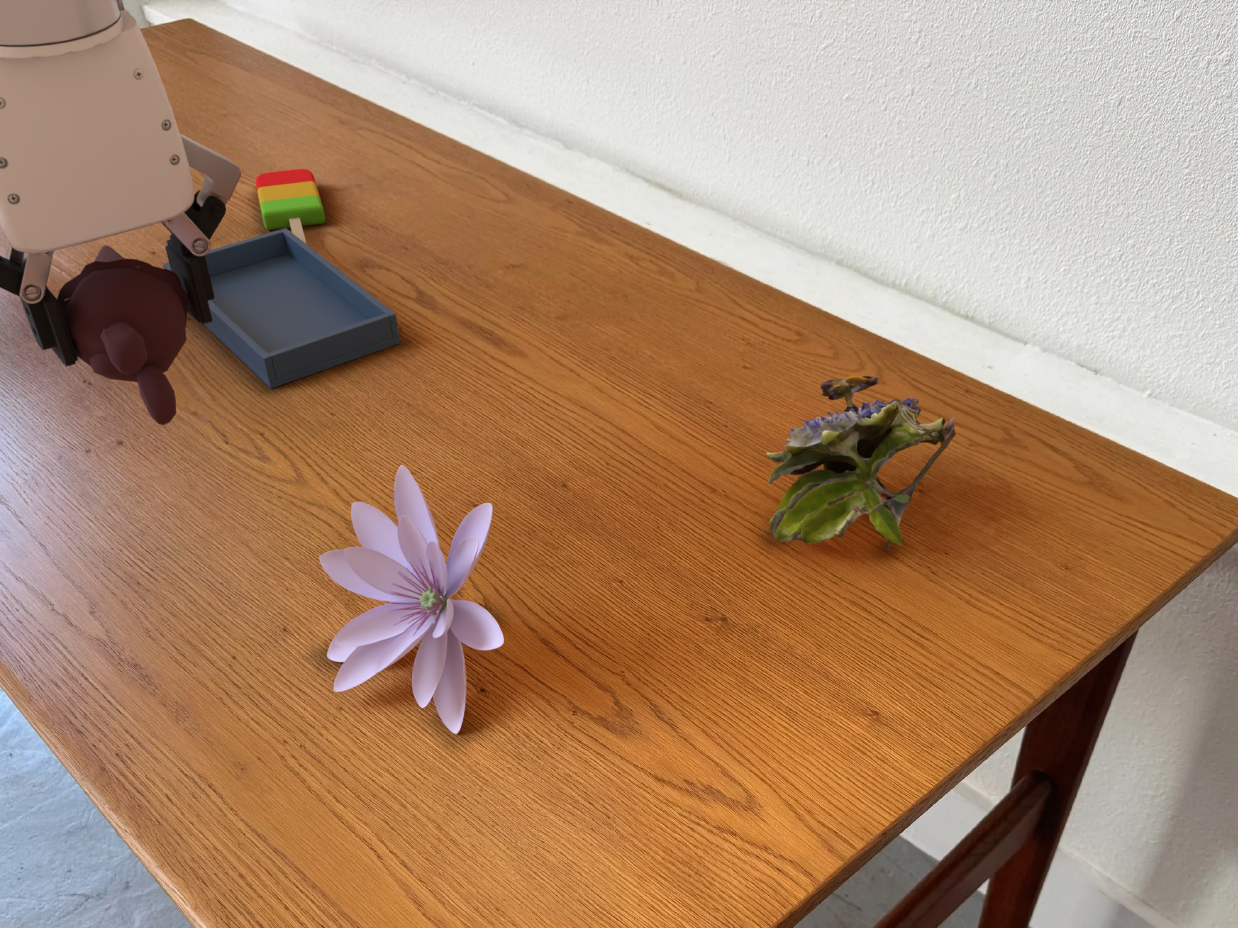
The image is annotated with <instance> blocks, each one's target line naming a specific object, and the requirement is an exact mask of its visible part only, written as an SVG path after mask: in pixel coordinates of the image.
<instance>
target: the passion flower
mask: <svg viewBox="0 0 1238 928" xmlns="http://www.w3.org/2000/svg"><path fill="white" fill-rule="evenodd" d="M879 382H880V376H878V375H873V376H871V375H862V376H861V375H850V376H848V377H843V378H840V379H829V380H825V381H823V382H822V383H821V384H820V389H821V391H820V395H821V396H822V397H827V399H828V401H835V400H839V399H840V400H841V399H844V400H845V403H846V408H845V409H844V410H843V411H842V413H841V412H839V411H835V413H831V412H830V411H827V414H828V416H820V415H819V414H817V415H816V416H815V417H813V418H812V419H808V420H807V419H800V421H801V422H804V423H803V426H792V427H791V429H790V431H789V433H788V435H789V437H787V440H785V441H786V444H784V449H785V450H782V451H781V452H769V451H767V452H765V456H766V457H767V458H768V459H769V460H771V461H773V462H774V463H778V465H777V466H776V467H775V468H774V469H773V470H772V472H771V473H770V474H769V476H768V480H767V483H768V485H772V484H773V482H775V481H776V480H778V479H779V478H781V477H783V476H788V475H790V476H798V477H797V479H796V481H795V482H793V483H792V485H790V487H788V489H787V490H786V491H785V492H784V494H783V496H782V498H781V500H780V501H779V503H778V505H777V507H776V508H775V513H773V515H772V517H771V518H770V520H769V522H768V525H769V531H770V533H771V534H770V535H771V536H772V537H773V539H774V540H775V541H776V542H779V543H787V542H794V541H801V542H802V543H804V544H805V545H815V544H819V543H822V542H826V541H828V540H831V539H833V538H835V537H837V538H843V537H844V536H845V535H846V532H847V529H848V527H850V526H851V525H853V523H855V522H856V520H857V519H858V518H860V517H861V516H863V515H868V519H869V522H870V523H871V525H873V528H874V530H875V531H877V533H879V534H880V535H881V536H882V537H884V538H885V539H886V540H888V541H887V544H886V548H885V552H889V551H890V550H891V546H892V543H893V544H895V545H897V546H900V547H901V546H903V545H904V542H905V540H904V538H903V534H902V531H901V528H900V523H901V520H902V517H903V515H904V511H905V510H906V509H907V507H908V505H909V504H910V502H911V501H912V498H913V494H914V492H915V490H916V488H917V486H918V485H919V484H920V482H921V481H922V480H923V479H924V477H925V476H926V474H927V472H928V471H929V470H930V468H931V467H932V466H933V464H934V463H935V462H936V460H937V459H938V458H939V457H940V455H941V454H942V453H943V452H944V451H945V450H946V449H947V448H948V447H949V445H950V443H951V441H952V440H953V439H954V437H956V435H957V433H956V430H955V427H956V425H955V422H954V419H955V416H954V415H953V416H952V417H951V418H950V419H949V420H948V422H947V421H946V419H945V418H944V417H941V418H938V419H936V420H935V421H933V422H928V423H927V422H926V423H923V422H920V421H919V420H917V419H918V417H919V415H920V413H921V412H922V409H921V408H920V407H919V406H917V405H919V403H920V400H919V399H918V398H916V397H914V398H913V397H912V398H911V397H908V398H906V399H904V400H902V401H901V400H900V399H898V398H894V399H892V400H891V401H889V402H888V403H886V402H885V400H881V401H880V400H879V399H876V400H875V401H874V403H870V402H869V401H866V402H862V405H861V407H858V406H857V405H856V404H855V402H854V399H853V398H854V394H855V393H860V392H863V391H865V390H867V389H869V388H872V387H874V386H876V385H877V384H879ZM946 422H947V423H946ZM945 424H946V425H945ZM944 426H945V427H944ZM922 443H926V444H931V445H934V446H937V445H938V444H939V443H940V446H939V448H938V449H937V450H936V451H935V452H934V453H932V456H931V457H930V458H929V459H928V461H927V462H926V464H925V465H924V467H923V468H922V469H921V470H920V471H919V473H918V474H917V475H916V477H915V478H914V479H913V481H912V482H911V483H910V484H909V485H907V486H906V487H905V488H903V489H901V490H899V491H891V490H890V489H888V488H887V487H886V486H885V485H884V484H883V482H882V481H881V480H880V479H879V477H878V474H879V471H880V470H881V468H883V466H885V465H886V464H887V463H888V462H889V461H890V460H891V459H892V458H893V457H894V456H895V455H896V454H898V453H899V452H901V451H904V450H906V449H909V448H911V447H915V446H918V445H920V444H922ZM779 463H780V464H779ZM821 466H822V469H821V468H819V467H821ZM881 495H882V496H881ZM883 497H885V498H886V499H885V498H883Z"/></svg>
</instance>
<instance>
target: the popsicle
mask: <svg viewBox="0 0 1238 928" xmlns="http://www.w3.org/2000/svg"><path fill="white" fill-rule="evenodd" d="M255 188H256V193H257V197H258V203H259V207H260V213H261V216H262V217H261V218H262V222H263V226H264V228H265V229H266V230H267V231H277V230H281V229H284V228H287V229H290V232H292V233H293V234H294V235H296V236H297V237H298V238H299V239H301V240H302V241H303V242H305V243H306V244H307V241H306V238H305V233H304V229H303V227H307V226H316V225H322V224H325V223H326V214H325V210H324V206H323V202H322V199H321V196H320V192H319V189H318V186H317V183H316V178H315V176H314V174H313V172H312V171H311V170H309V169H306V168H296V169H295V168H294V169H287V170H278V171H269V172H264V173H261V174H258V175H257V177H256V178H255Z"/></svg>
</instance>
